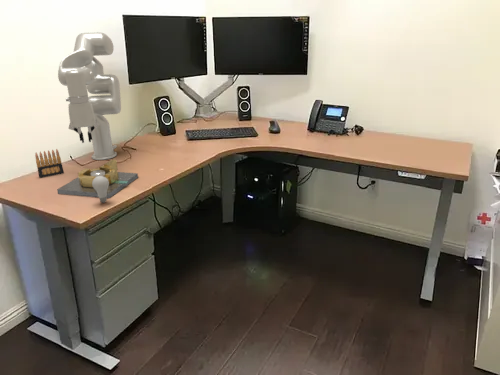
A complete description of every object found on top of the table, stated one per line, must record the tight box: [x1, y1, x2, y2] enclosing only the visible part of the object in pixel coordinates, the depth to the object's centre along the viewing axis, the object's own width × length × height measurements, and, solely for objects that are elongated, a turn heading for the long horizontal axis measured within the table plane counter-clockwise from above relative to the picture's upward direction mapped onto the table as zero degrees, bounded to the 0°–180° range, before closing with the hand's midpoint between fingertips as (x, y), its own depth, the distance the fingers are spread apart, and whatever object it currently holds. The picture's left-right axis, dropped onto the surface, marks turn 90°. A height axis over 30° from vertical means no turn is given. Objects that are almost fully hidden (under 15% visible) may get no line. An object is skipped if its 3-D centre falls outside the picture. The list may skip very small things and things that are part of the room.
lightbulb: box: [92, 176, 109, 203], centre depth 164 cm, size 6×6×11 cm
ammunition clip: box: [34, 148, 65, 179], centre depth 194 cm, size 11×2×12 cm, turn 123°
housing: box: [56, 170, 139, 199], centre depth 182 cm, size 24×25×6 cm
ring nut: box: [77, 158, 119, 187], centre depth 184 cm, size 21×15×5 cm
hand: (86, 141), depth 185 cm, fingers closed
